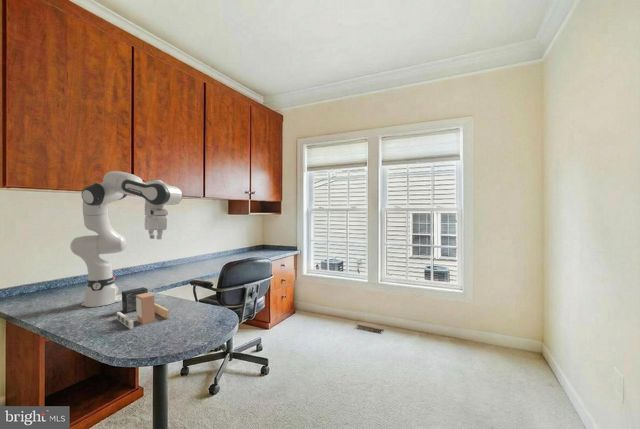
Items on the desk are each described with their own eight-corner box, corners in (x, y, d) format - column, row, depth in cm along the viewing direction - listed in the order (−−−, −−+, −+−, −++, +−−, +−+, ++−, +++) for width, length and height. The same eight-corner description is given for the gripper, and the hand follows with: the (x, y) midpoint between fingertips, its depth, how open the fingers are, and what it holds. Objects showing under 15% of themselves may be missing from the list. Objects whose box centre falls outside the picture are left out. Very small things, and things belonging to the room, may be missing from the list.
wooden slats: (116, 319, 138) (115, 310, 138) (153, 310, 151) (153, 302, 151) (129, 329, 125) (129, 320, 125) (169, 318, 137) (169, 309, 137)
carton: (148, 317, 140) (147, 292, 139) (154, 321, 134) (154, 295, 134) (136, 320, 136) (135, 295, 136) (142, 324, 130) (141, 298, 130)
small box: (144, 305, 158) (143, 286, 158) (149, 308, 154) (148, 288, 154) (121, 311, 150) (121, 291, 150) (126, 313, 146) (125, 292, 146)
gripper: (140, 212, 152) (141, 238, 152) (155, 211, 139) (156, 240, 139) (153, 212, 157) (154, 237, 157) (169, 211, 143) (170, 239, 143)
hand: (155, 239), depth 148 cm, fingers open, 8 cm apart
